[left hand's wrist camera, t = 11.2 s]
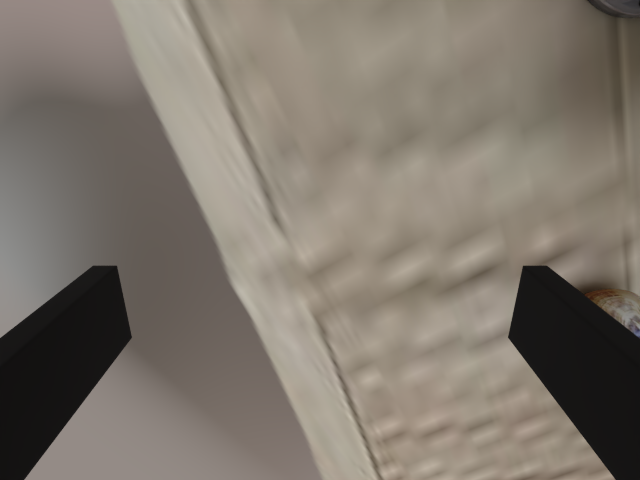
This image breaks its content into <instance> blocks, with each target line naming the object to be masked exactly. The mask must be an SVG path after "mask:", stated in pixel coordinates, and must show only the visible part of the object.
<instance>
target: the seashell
mask: <svg viewBox="0 0 640 480" xmlns="http://www.w3.org/2000/svg"><path fill="white" fill-rule="evenodd" d="M584 295H585V296H586V297H588V298H589V299H590V300H591V301H593V302H594V303H595V304H597V305H598V306H599V307H600V308H602V309H603V310H604V311H606V312H607V313H608V314H609V315H611V316H612V317H613V318H615V319H616V320H617V321H618V322H620V323H621V324H622V325H624V326H625V327H626V328H627V329H629V330H630V331H631V332H633V333H634V334H635V335H636V336H638V337H639V338H640V297H639V296H638V295H636V294H635V293H632V292H629V291H626V290H619V289H604V290H597V291H593V292H589V293H586V294H584Z"/></svg>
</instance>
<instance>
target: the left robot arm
mask: <svg viewBox="0 0 640 480" xmlns="http://www.w3.org/2000/svg"><path fill="white" fill-rule="evenodd" d="M588 1H589V2H590V3H591V4H592V5H594V6H595V7H596V8H598V9H599V10H601V11H603V12H605V13H607V14H609V15H613V16H616V17H622V18H639V17H640V0H588ZM131 338H132V336H131V331H130V327H129V322H128V317H127V312H126V307H125V303H124V298H123V293H122V288H121V283H120V278H119V274H118V269H117V266H92V267H91V268H90V269H88V270H87V271H86V272H85V273H83V274H82V275H81V276H79V277H78V278H77V279H76V280H74V281H73V282H72V283H70V284H69V285H68V286H67V287H65V288H64V289H63V290H61V291H60V292H59V293H58V294H56V295H55V296H54V297H52V298H51V299H50V300H49V301H47V302H46V303H45V304H43V305H42V306H41V307H40V308H38V309H37V310H36V311H34V312H33V313H32V314H31V315H29V316H28V317H27V318H25V319H24V320H23V321H22V322H20V323H19V324H18V325H17V326H15V327H14V328H13V329H11V330H10V331H9V332H7V333H6V334H5V335H4V336H2V337H1V338H0V480H24V479H25V478H26V477H27V475H28V474H29V473H30V471H31V470H32V469H33V467H34V466H35V465H36V463H37V462H38V461H39V459H40V458H41V457H42V455H43V454H44V453H45V452H46V450H47V449H48V448H49V446H50V445H51V444H52V442H53V441H54V440H55V438H56V437H57V436H58V434H59V433H60V432H61V430H62V429H63V428H64V426H65V425H66V424H67V422H68V421H69V420H70V419H71V417H72V416H73V415H74V413H75V412H76V411H77V409H78V408H79V407H80V405H81V404H82V403H83V401H84V400H85V399H86V397H87V396H88V395H89V393H90V392H91V391H92V389H93V388H94V387H95V386H96V384H97V383H98V381H99V380H100V379H101V378H102V376H103V375H104V374H105V372H106V371H107V370H108V368H109V367H110V366H111V364H112V363H113V362H114V360H115V359H116V358H117V356H118V355H119V354H120V353H121V351H122V350H123V348H124V347H125V346H126V345H127V343H128V342H129V341H130V339H131ZM508 338H509V339H510V341H511V342H512V343H513V345H514V346H515V347H516V349H517V350H518V351H519V353H520V354H521V355H522V356H523V358H524V359H525V360H526V362H527V363H528V364H529V366H530V367H531V368H532V370H533V371H534V372H535V374H536V375H537V376H538V378H539V379H540V380H541V382H542V383H543V384H544V386H545V387H546V388H547V389H548V391H549V392H550V393H551V395H552V396H553V397H554V399H555V400H556V401H557V403H558V404H559V405H560V407H561V408H562V409H563V411H564V412H565V413H566V415H567V416H568V417H569V419H570V420H571V421H572V422H573V424H574V425H575V426H576V428H577V429H578V430H579V432H580V433H581V434H582V436H583V437H584V438H585V440H586V441H587V442H588V444H589V445H590V446H591V448H592V449H593V450H594V452H595V453H596V454H597V455H598V457H599V458H600V459H601V461H602V462H603V463H604V465H605V466H606V467H607V469H608V470H609V471H610V473H611V474H612V475H613V477H614V478H615V479H616V480H640V338H639V337H638V336H636V335H635V334H634V333H633V332H631V331H630V330H629V329H627V328H626V327H625V326H624V325H622V324H621V323H620V322H618V321H617V320H616V319H615V318H613V317H612V316H611V315H609V314H608V313H607V312H606V311H604V310H603V309H602V308H600V307H599V306H598V305H597V304H595V303H594V302H593V301H591V300H590V299H589V298H588V297H586V296H585V295H584V294H582V293H581V292H580V291H579V290H577V289H576V288H575V287H573V286H572V285H571V284H570V283H568V282H567V281H566V280H564V279H563V278H562V277H561V276H559V275H558V274H557V273H555V272H554V271H553V270H552V269H550V268H549V267H548V266H523V269H522V274H521V278H520V283H519V288H518V293H517V298H516V302H515V307H514V312H513V317H512V322H511V326H510V331H509V336H508Z"/></svg>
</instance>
